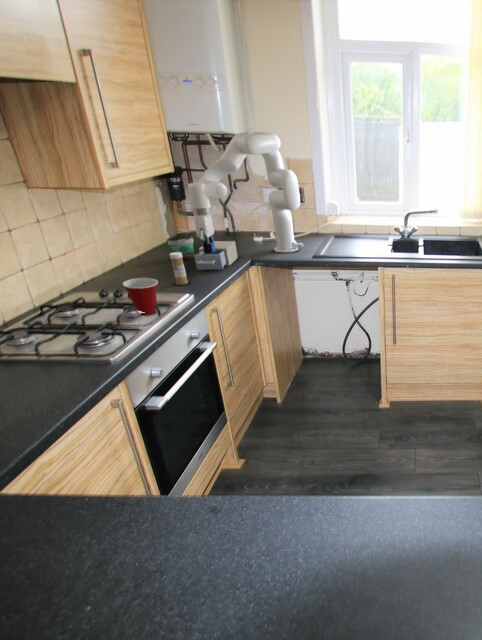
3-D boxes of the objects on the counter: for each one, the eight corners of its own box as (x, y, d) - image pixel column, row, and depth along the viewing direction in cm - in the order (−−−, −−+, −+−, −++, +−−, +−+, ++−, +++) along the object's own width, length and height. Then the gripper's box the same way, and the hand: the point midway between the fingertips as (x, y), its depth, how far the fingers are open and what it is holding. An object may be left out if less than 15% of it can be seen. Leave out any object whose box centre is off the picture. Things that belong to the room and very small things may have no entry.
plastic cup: (156, 318, 169) (148, 286, 164) (125, 318, 169) (115, 286, 163) (170, 307, 179) (162, 276, 174) (140, 307, 178) (132, 276, 173)
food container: (177, 262, 232) (172, 242, 228) (171, 260, 235) (166, 240, 231) (202, 257, 241) (198, 238, 237) (195, 255, 244) (191, 236, 240)
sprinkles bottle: (175, 283, 204) (167, 252, 198) (186, 281, 207) (179, 251, 201) (178, 286, 201) (171, 255, 195) (189, 283, 204) (182, 253, 198)
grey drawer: (219, 272, 217) (216, 257, 214) (193, 272, 215) (190, 258, 212) (230, 261, 233) (228, 247, 230) (206, 261, 232) (203, 248, 229)
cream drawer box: (229, 265, 229) (226, 248, 226) (202, 266, 228) (198, 248, 224) (237, 257, 242) (235, 241, 239) (212, 257, 241) (208, 241, 237)
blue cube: (215, 250, 223) (214, 241, 222) (213, 252, 220) (211, 244, 218) (206, 250, 223) (205, 242, 221) (204, 252, 219) (202, 244, 217)
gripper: (199, 208, 220) (207, 246, 228) (186, 214, 205) (195, 256, 213) (216, 208, 221) (223, 246, 229) (204, 214, 206) (212, 255, 214)
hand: (209, 250), depth 221 cm, fingers closed on blue cube, 3 cm apart
